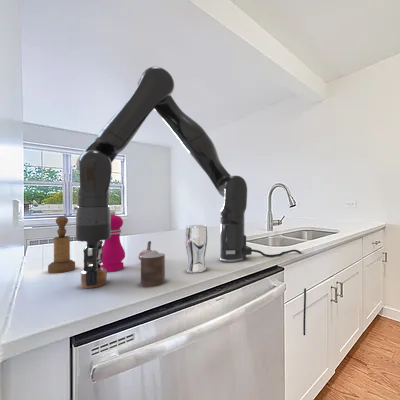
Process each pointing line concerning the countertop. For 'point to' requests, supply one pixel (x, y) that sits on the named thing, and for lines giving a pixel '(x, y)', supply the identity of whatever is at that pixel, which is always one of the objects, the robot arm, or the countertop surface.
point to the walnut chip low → (152, 278)
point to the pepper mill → (113, 246)
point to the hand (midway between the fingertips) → (93, 281)
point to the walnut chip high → (152, 262)
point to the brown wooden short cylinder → (100, 278)
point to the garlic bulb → (147, 251)
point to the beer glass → (196, 247)
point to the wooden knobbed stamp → (61, 250)
